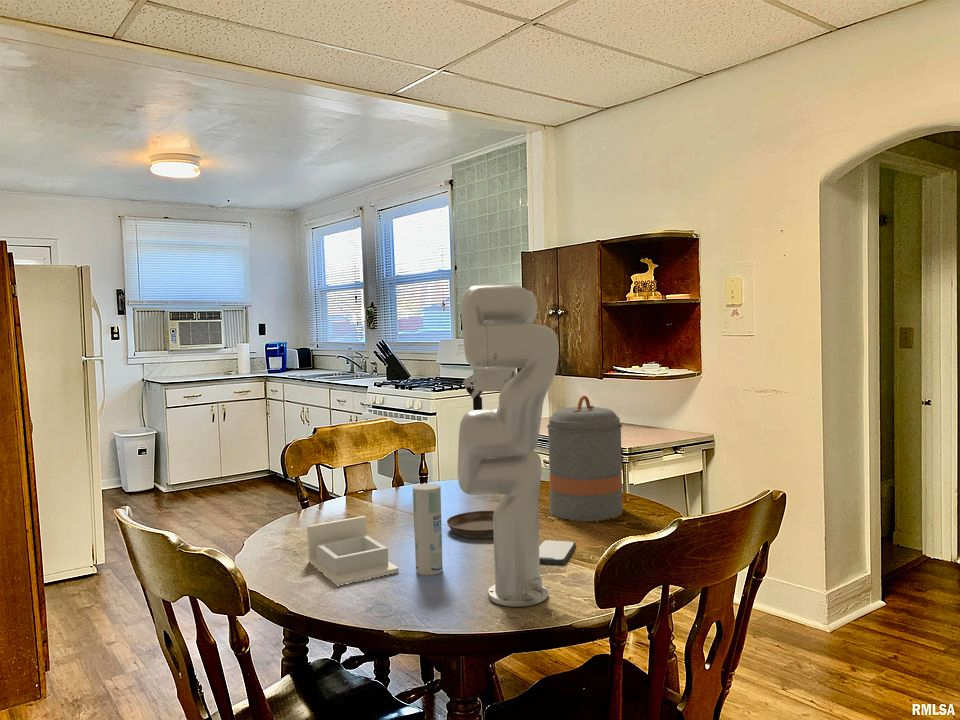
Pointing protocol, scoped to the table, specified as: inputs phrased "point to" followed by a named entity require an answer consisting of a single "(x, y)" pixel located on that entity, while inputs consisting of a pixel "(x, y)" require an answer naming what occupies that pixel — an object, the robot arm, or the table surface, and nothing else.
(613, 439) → the storage container
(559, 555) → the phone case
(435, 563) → the spray can
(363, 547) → the white open box
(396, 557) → the table surface
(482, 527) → the plant saucer
